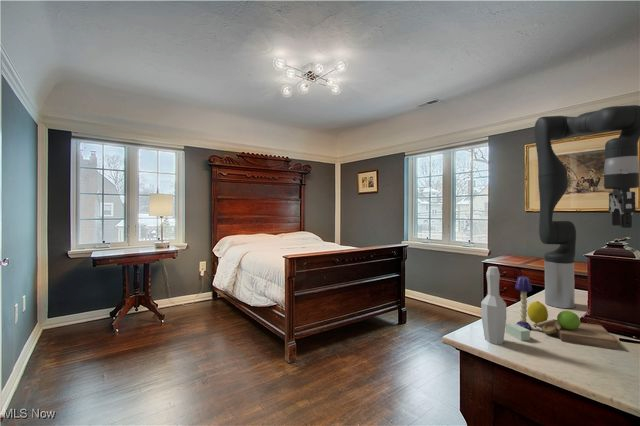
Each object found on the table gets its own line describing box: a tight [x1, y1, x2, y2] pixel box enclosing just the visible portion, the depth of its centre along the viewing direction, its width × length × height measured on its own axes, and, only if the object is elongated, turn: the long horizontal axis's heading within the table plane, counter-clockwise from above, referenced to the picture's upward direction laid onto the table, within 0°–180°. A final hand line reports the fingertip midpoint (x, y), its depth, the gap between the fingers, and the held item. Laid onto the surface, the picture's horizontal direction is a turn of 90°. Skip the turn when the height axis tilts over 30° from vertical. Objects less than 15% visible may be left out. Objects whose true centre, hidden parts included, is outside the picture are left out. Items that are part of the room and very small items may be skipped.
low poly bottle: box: [480, 266, 507, 345], centre depth 90 cm, size 6×6×22 cm
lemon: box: [527, 300, 549, 326], centre depth 100 cm, size 6×6×8 cm
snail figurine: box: [532, 310, 581, 335], centre depth 93 cm, size 5×6×12 cm
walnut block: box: [552, 318, 618, 350], centre depth 91 cm, size 12×12×3 cm
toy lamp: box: [514, 275, 533, 331], centre depth 98 cm, size 5×5×17 cm
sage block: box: [505, 322, 531, 342], centre depth 93 cm, size 6×3×3 cm, turn 9°
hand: (621, 226), depth 91 cm, fingers open, 8 cm apart
